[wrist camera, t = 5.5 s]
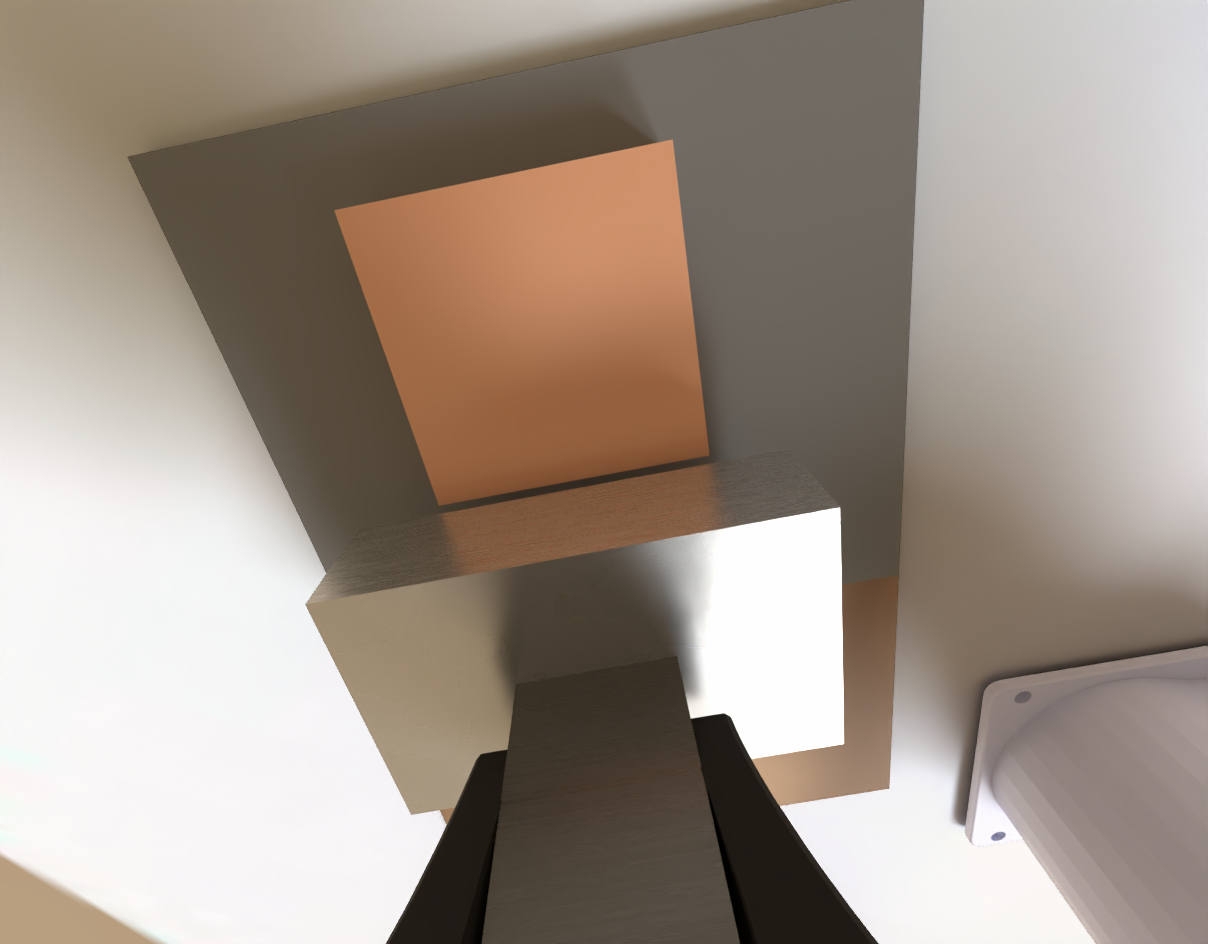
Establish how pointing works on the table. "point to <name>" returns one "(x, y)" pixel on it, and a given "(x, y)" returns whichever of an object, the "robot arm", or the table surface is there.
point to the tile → (538, 321)
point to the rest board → (847, 708)
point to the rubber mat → (711, 232)
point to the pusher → (597, 678)
